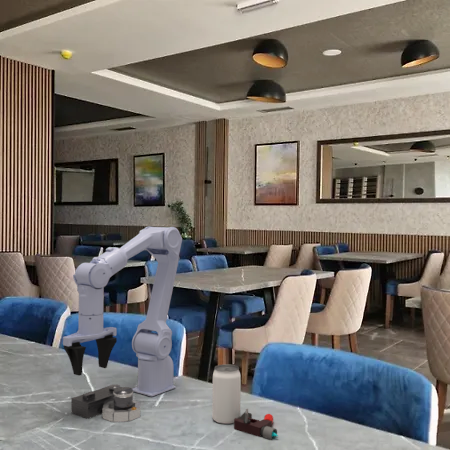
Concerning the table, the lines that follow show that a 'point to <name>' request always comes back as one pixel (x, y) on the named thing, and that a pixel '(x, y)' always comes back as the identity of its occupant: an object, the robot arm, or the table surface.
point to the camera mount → (103, 406)
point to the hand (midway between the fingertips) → (90, 370)
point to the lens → (123, 398)
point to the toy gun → (256, 425)
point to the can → (226, 394)
